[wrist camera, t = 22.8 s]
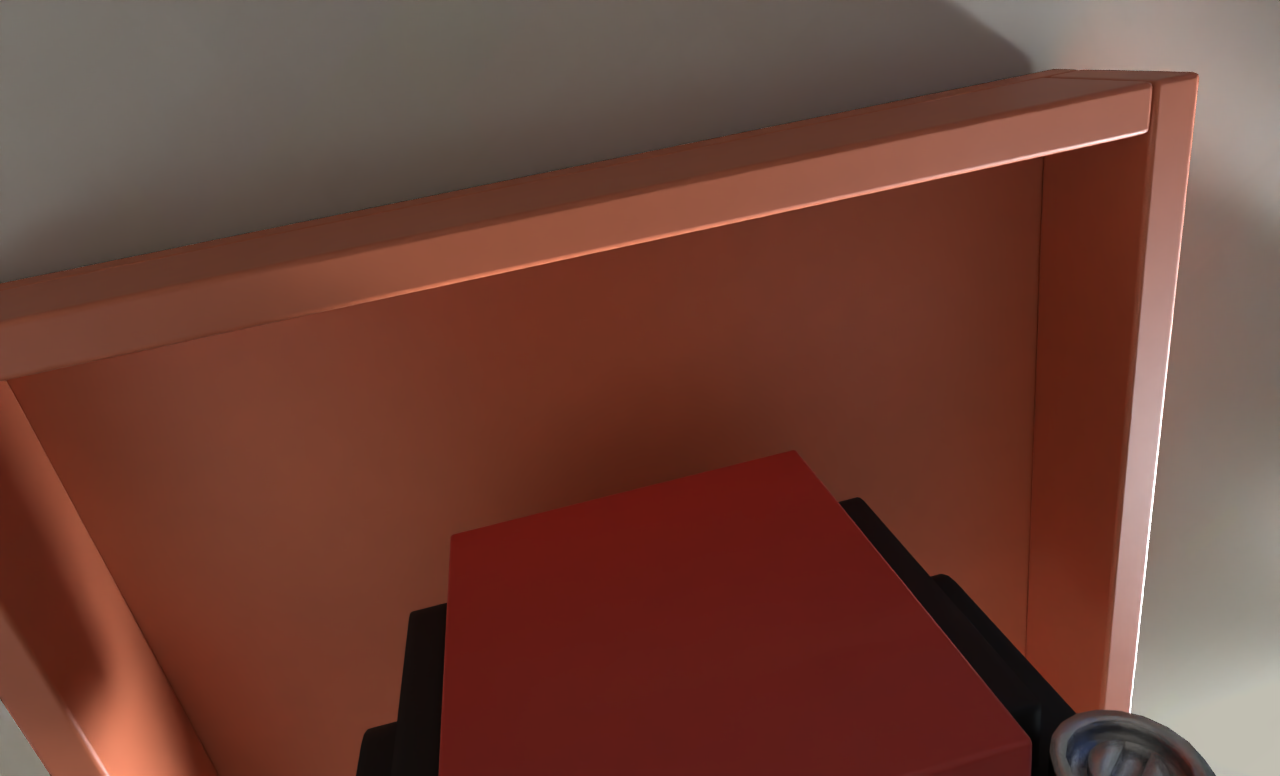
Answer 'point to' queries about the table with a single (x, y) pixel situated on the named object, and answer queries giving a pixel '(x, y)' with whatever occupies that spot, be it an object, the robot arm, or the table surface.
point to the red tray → (587, 404)
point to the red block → (705, 643)
